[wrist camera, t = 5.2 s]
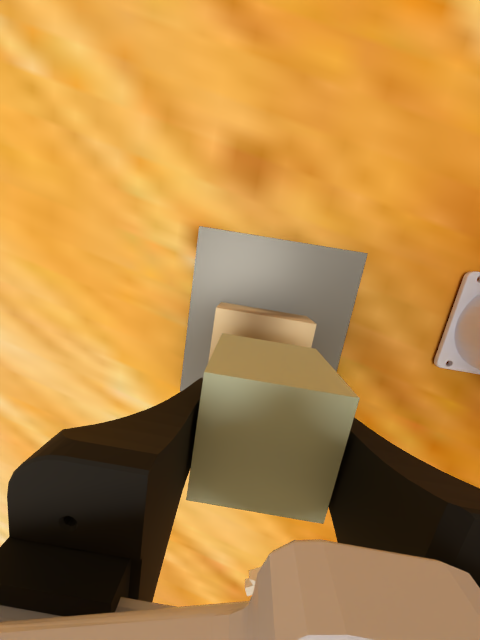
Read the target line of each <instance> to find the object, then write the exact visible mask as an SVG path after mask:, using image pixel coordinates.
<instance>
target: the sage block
mask: <svg viewBox="0 0 480 640" xmlns="http://www.w3.org/2000/svg"><path fill="white" fill-rule="evenodd" d="M358 402H359V397H358V396H357V395H356V394H355V392H354V391H353V390H352V389H351V388H350V387H349V386H348V385H347V383H346V382H345V381H344V380H343V379H342V378H341V377H340V375H339V374H338V373H337V372H336V371H335V370H334V369H333V368H332V366H331V365H330V364H329V363H328V362H327V361H326V360H325V359H324V357H323V356H322V355H321V354H320V353H319V352H318V351H317V350H316V349H314V348H308V347H302V346H296V345H290V344H284V343H278V342H272V341H266V340H260V339H254V338H248V337H242V336H236V335H230V334H224V333H222V335H221V337H220V339H219V341H218V343H217V345H216V348H215V350H214V352H213V354H212V356H211V358H210V360H209V362H208V365H207V367H206V369H205V371H204V376H203V383H202V390H201V398H200V405H199V412H198V419H197V426H196V434H195V441H194V448H193V455H192V462H191V469H190V477H189V484H188V491H187V498H186V500H189V501H195V502H201V503H207V504H212V505H218V506H224V507H230V508H235V509H241V510H247V511H253V512H258V513H264V514H270V515H276V516H281V517H287V518H293V519H299V520H304V521H310V522H316V523H322V524H323V523H324V520H325V517H326V513H327V510H328V506H329V503H330V499H331V496H332V492H333V489H334V485H335V482H336V478H337V475H338V471H339V468H340V464H341V461H342V457H343V454H344V450H345V447H346V443H347V440H348V437H349V433H350V430H351V426H352V423H353V419H354V416H355V412H356V409H357V405H358Z"/></svg>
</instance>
